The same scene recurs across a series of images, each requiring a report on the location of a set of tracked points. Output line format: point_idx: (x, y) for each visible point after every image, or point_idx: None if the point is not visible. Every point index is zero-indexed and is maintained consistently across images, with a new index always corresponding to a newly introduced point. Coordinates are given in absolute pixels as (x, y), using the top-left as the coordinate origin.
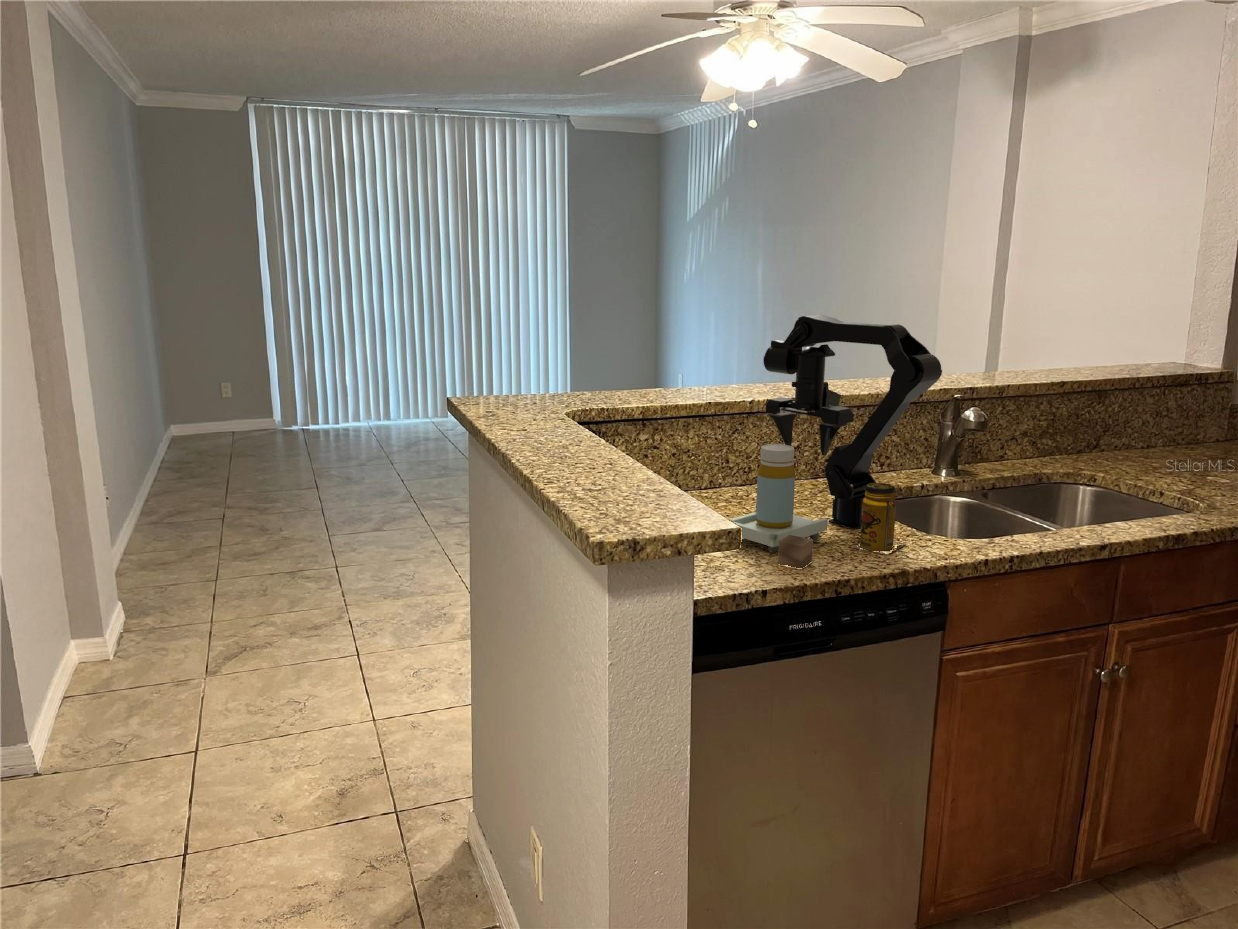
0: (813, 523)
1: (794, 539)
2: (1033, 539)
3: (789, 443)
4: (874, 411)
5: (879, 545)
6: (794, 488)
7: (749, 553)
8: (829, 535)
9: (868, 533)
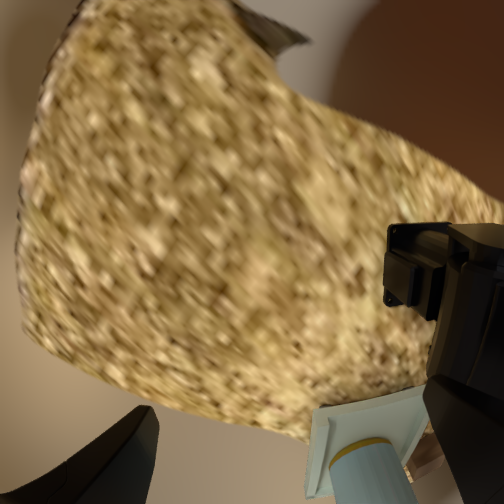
0: (426, 425)
1: (427, 468)
2: None
3: (148, 435)
4: None
5: None
6: (411, 489)
7: None
8: (418, 355)
9: None
